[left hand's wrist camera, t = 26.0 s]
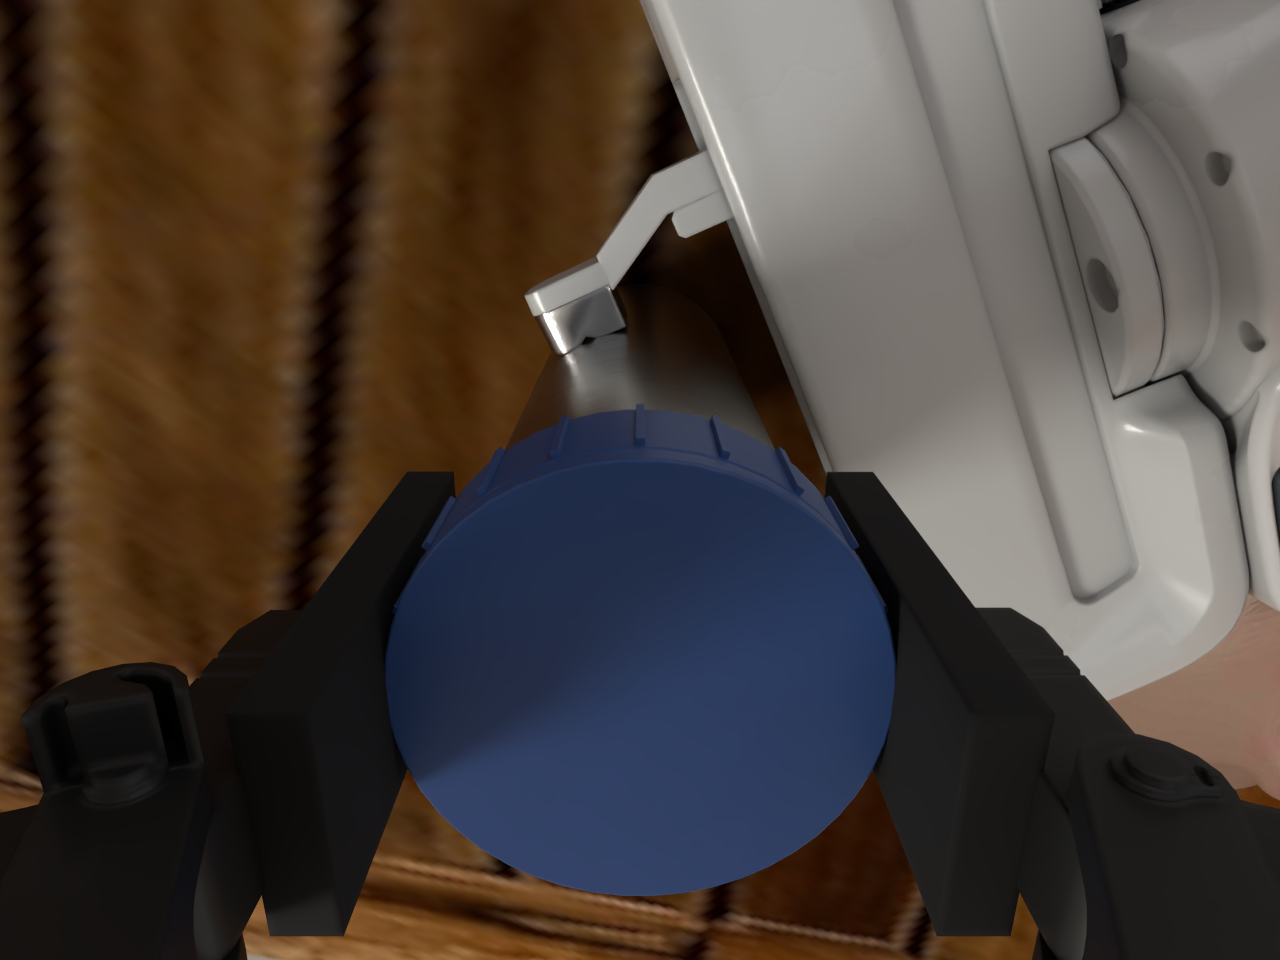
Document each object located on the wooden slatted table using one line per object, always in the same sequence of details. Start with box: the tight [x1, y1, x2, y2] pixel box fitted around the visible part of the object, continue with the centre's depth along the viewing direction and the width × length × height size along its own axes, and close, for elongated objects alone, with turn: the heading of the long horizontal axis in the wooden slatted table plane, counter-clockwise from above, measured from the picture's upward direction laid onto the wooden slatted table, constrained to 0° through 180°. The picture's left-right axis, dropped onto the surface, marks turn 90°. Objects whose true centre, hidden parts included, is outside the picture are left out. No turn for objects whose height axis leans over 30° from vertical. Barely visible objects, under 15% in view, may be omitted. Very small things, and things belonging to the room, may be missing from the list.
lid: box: [385, 404, 896, 896], centre depth 11 cm, size 6×6×2 cm
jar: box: [505, 283, 776, 451], centre depth 19 cm, size 5×5×16 cm
